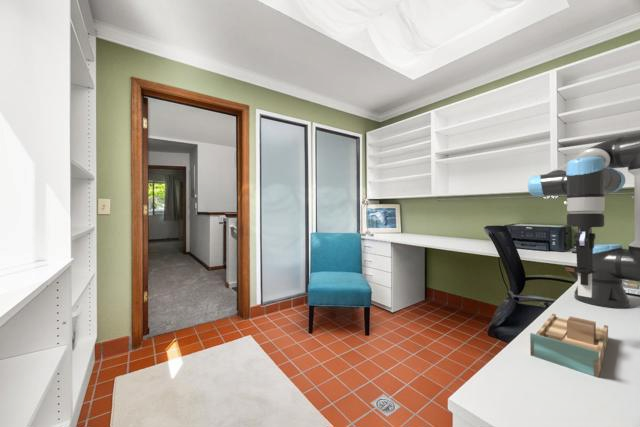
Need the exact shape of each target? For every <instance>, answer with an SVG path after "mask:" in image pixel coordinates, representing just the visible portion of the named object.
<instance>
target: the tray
mask: <svg viewBox="0 0 640 427" xmlns="http://www.w3.org/2000/svg"><path fill="white" fill-rule="evenodd" d="M568 319H569V318H568ZM568 319H567V318H563V317H559V316H557V315H556V313H552V314H551V315H550V316H549V317H548V319H547V320H546V321H545V322H544V324H543V325H542V326H541V327H540V328H539V329H538V331H537V332H536V333H534V332H531V333H529V335H530V337H529V339H530V340H529V341H530V342H529V344H530V346H529V347H530V349H529V350H530V356H532V357H535V358H538V359H540V360H544V361H547V362H550V363H553V364H557V365H559V366H563V367H566V368H568V369H572V370H575V371H578V372H581V373H583V374H587V375H590V376H593V377H596V378H599V377H600V373H601V369H602V365H603V362H604V357H605V353H606V349H607V345H608V342H609V325H606V324H604V325H603V328H602V327H598V326H596V340H595V343H594V345H592V344H589V343H585V342H581V341H577V340H574V339H570V338H567V320H568Z"/></svg>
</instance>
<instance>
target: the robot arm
mask: <svg viewBox="0 0 640 427" xmlns="http://www.w3.org/2000/svg"><path fill="white" fill-rule="evenodd" d="M623 168H625V169H626V168H627V172H628V173H629V174H631V175H633V176H634V184H633V185H634V241H632V242H630V243H629V244H628V248H624V247H623V245H621V244H619V243H617V244H615V243H611V244H605V243H604V244H595V240H596V233H593V231H592V230H593V229H592V228H602V227H605V214H604V213H602V212H604V211H606V210H605V207H606V206H605V204H606V203H605V201H606V200H605V198H606V197H605V195H606V194H607V195H608V194H612V193H616V192H618V191H619V190H621V189H622V188H623V187H624V186H625V184H626V177H625V174H624V173H622V172H621V171H620V170H617V169H623ZM527 189H528V192H529V194H530V195H532V196H533V197H549V196H550V197H552V196H553V197H554V196H566V201H564V202H563V204H564V205H566V212H569V213H567V214H566V226H568V227H571V228H572V227H574V228H575V227H577V232H574V235H573V237H574V241H575V249H576V250H575V251H576V254H575V255H576V269H574V273H577V286H576V287H575V288H576V289H575V291H574V293H573V294H574V300H577V301H579V302H583V303H586V304H590V305H594V306H598V307H599V306H600V307H606V308H613V309H615V308H616V309H626V308H629V307H630V299H629V296H628V295H627V294H626V293H627V292H626V290H625V288H624V286H623V280H625V281H630V282H632V281H633V282H638V283H640V133H636V134H631V135H624V136H620V137H619V136H618V137H615V138H611V139H607V140H605V141H603V142H600V143H597V144H594V145H593V146H590V147H589V148H587V149H585V150H583V151H581V152H580V153H579V154H578V155H577V157H575V158H574V159H571V160H569V161H568V162H566V163H565V164H562V165H561V166H559V167H557V168H555V169H554V170H552V171H549V172H548V173H546V174H537V175H533V176H531V177H530V178H529V180H528V181H527Z"/></svg>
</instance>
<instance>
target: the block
mask: <svg viewBox="0 0 640 427" xmlns="http://www.w3.org/2000/svg"><path fill="white" fill-rule="evenodd" d="M596 324H597V322H596V321H594V320H589V319H584V318H579V317H576V316H575V317H574V316H571V315H570V316H569V317H568V320H567V338H570V339H574V340H577V341H581V342H585V343H589V344H592V345H594V343H595V340H596V327H597V326H596Z"/></svg>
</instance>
